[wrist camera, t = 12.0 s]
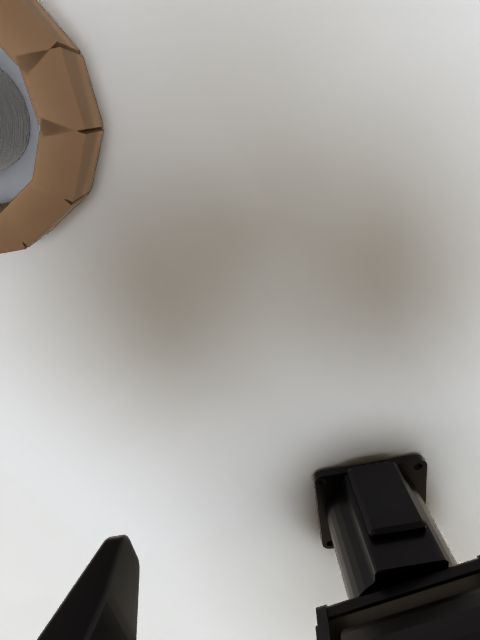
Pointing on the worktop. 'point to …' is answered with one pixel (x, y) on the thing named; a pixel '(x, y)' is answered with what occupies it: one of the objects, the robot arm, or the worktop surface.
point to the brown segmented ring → (49, 123)
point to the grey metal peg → (12, 122)
